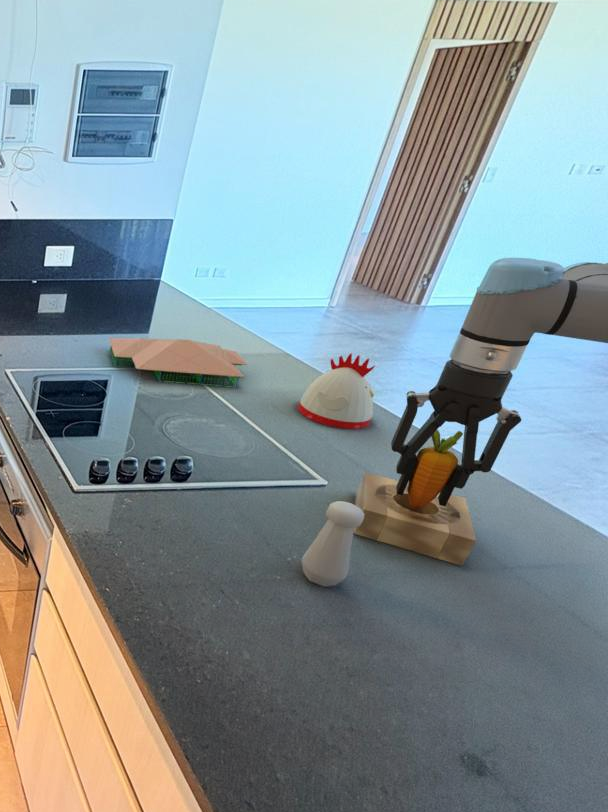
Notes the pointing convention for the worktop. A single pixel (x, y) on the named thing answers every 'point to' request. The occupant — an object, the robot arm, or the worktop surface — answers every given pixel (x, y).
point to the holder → (414, 521)
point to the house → (178, 357)
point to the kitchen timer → (340, 396)
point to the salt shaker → (333, 545)
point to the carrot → (432, 470)
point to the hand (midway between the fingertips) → (420, 496)
